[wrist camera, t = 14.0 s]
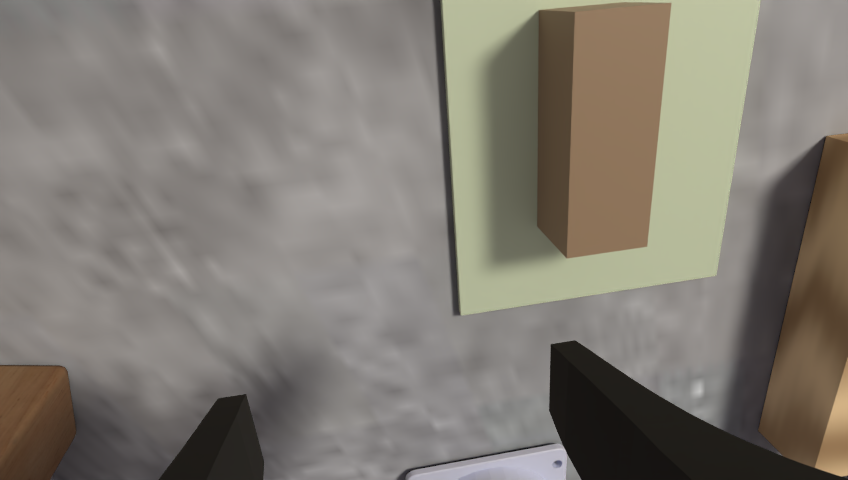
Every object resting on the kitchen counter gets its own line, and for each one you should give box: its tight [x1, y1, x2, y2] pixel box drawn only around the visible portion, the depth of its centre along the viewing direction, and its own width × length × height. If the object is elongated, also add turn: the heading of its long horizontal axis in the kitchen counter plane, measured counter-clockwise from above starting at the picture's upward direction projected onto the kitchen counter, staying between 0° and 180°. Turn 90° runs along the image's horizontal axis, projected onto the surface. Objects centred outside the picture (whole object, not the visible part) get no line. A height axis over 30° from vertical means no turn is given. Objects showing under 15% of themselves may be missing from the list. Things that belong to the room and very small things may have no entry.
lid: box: [440, 0, 761, 316], centre depth 20 cm, size 15×12×4 cm
